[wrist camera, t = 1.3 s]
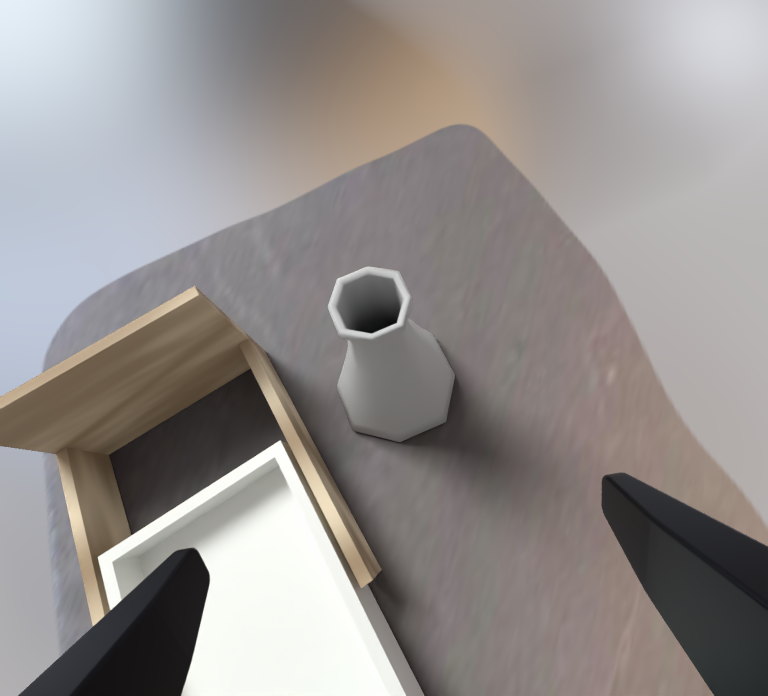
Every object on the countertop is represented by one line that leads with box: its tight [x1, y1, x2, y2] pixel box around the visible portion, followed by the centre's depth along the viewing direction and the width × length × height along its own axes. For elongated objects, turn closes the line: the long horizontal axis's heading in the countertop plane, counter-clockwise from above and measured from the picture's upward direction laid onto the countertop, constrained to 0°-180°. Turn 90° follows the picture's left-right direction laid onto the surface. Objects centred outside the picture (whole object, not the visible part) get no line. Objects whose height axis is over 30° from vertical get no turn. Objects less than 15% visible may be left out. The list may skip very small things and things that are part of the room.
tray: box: [98, 440, 424, 696], centre depth 16 cm, size 15×10×5 cm
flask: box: [328, 266, 455, 442], centre depth 19 cm, size 7×7×10 cm
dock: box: [0, 286, 381, 626], centre depth 18 cm, size 15×12×8 cm
